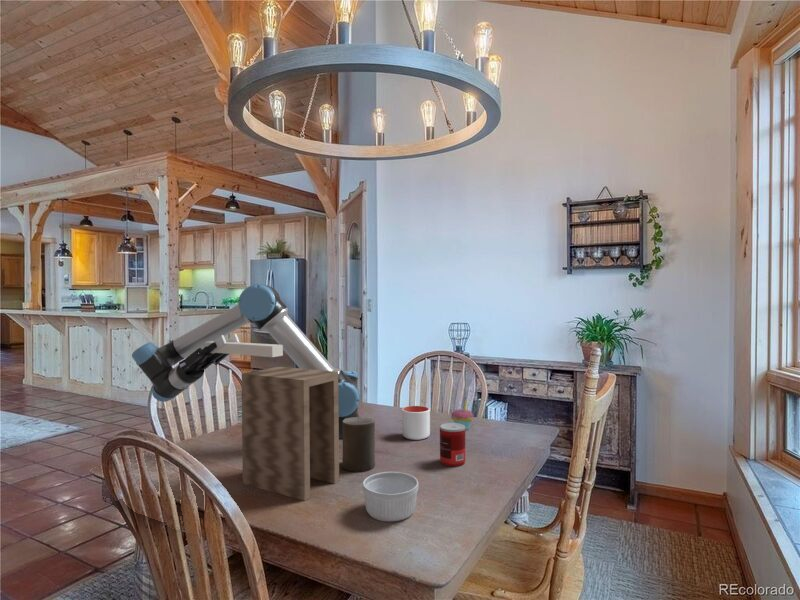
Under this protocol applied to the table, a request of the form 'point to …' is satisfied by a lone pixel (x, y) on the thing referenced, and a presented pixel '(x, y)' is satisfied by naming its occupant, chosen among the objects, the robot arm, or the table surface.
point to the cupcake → (462, 416)
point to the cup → (416, 422)
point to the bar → (250, 349)
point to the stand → (290, 429)
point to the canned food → (452, 444)
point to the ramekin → (390, 495)
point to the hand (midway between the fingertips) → (230, 338)
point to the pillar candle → (358, 444)
